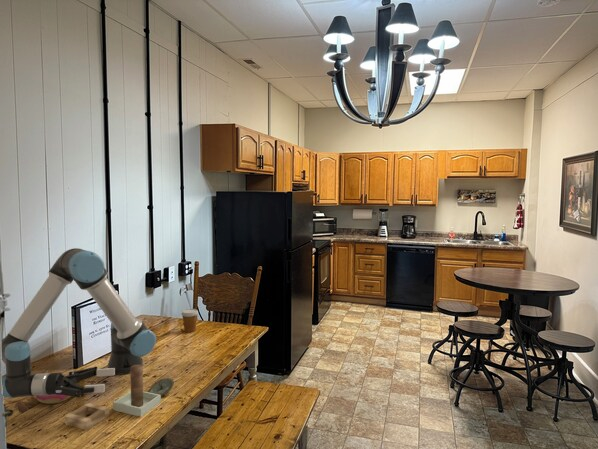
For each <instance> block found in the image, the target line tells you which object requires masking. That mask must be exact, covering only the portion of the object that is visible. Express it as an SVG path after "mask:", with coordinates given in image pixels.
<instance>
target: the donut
mask: <svg viewBox="0 0 598 449" xmlns="http://www.w3.org/2000/svg"><path fill="white" fill-rule="evenodd" d="M71 397H72V396H66V395H56V394H51V395H48V394H46V395H42V396H39V395H36V399H37V401H38V402H40V403H43V404H46V405H49V404H51V405H52V404H59V403H62V402H65V401H67V400H68V399H71Z"/></svg>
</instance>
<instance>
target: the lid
mask: <svg viewBox="0 0 598 449" xmlns="http://www.w3.org/2000/svg"><path fill="white" fill-rule="evenodd" d="M174 385H175V381H174V380H173V378H171V377H167V378H166V377H165V378H161V379H158V380H157V381H156V382H154V383H153V384H152V385H151V386H150V388H149V389H148V392H149V393H154V394H158V395H161V397H162V396H165V394H166V395H167V393H170V391H171V390H172V389H173V388H174Z"/></svg>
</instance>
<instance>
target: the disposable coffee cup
mask: <svg viewBox="0 0 598 449" xmlns="http://www.w3.org/2000/svg"><path fill="white" fill-rule="evenodd" d="M198 315H199V311H198V310H197V309H196V308H188V309H184V310H182V312H181V316H182V323H183V329H184V332H185V333H188V334H189V333H190V334H191V333H194V332H196V330H197V322H198Z"/></svg>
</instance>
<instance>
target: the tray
mask: <svg viewBox="0 0 598 449" xmlns="http://www.w3.org/2000/svg"><path fill="white" fill-rule="evenodd" d="M161 403H162V396H161V395H158V394H154V393H149V391H144V390H143V406H141V407H136V406H132V405H131V390H130V391H129V392H127V393H126V394H124V395H123V396H120V397H119V398H117V399H116V400H115V401H113V402H112V406H113V408H112V409H113V411H114V412H120V413H124V414H127V415H131V416H136V417H143V416H145V415H146V414H147V413H149V411H151V410H153V409H154V408H155V407H157V406H158V405H160V404H161Z"/></svg>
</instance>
